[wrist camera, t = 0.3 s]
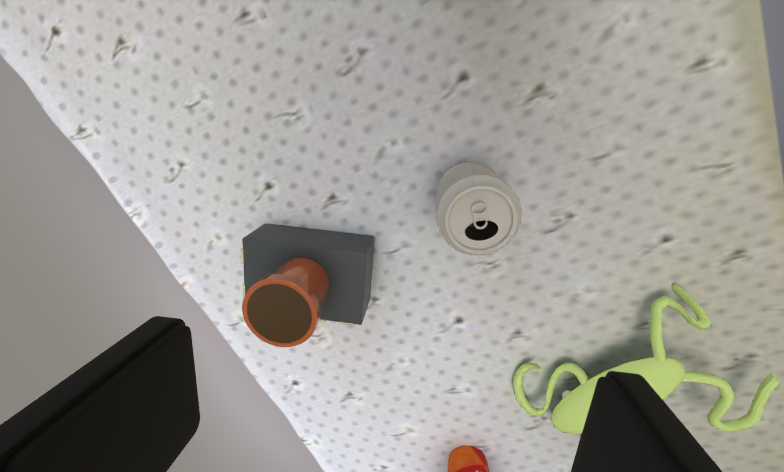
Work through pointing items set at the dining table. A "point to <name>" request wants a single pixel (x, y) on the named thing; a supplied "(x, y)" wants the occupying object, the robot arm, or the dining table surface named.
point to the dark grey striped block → (327, 248)
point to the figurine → (655, 370)
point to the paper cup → (467, 460)
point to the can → (476, 209)
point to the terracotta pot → (287, 303)
